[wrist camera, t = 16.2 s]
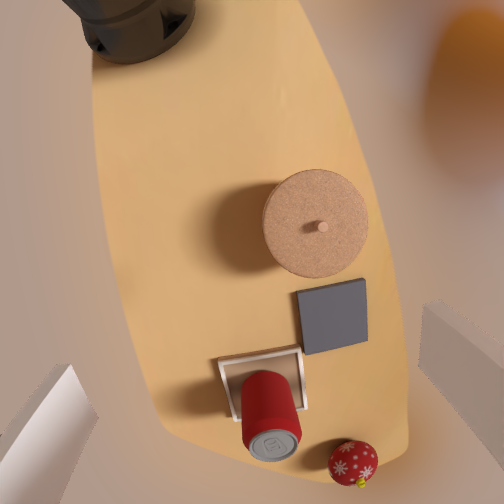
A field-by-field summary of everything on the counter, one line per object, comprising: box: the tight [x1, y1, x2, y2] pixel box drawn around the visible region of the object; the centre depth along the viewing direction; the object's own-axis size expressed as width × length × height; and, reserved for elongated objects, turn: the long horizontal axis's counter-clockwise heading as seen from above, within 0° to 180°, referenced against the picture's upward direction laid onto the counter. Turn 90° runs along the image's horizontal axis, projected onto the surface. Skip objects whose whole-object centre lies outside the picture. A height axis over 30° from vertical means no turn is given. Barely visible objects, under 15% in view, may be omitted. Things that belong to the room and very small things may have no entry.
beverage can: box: [241, 371, 302, 462], centre depth 35 cm, size 7×7×12 cm
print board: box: [218, 344, 308, 422], centre depth 41 cm, size 11×11×1 cm
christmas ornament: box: [328, 441, 378, 488], centre depth 41 cm, size 9×9×10 cm
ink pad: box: [296, 278, 368, 355], centre depth 40 cm, size 9×9×1 cm
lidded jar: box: [262, 169, 368, 278], centre depth 33 cm, size 11×11×9 cm
